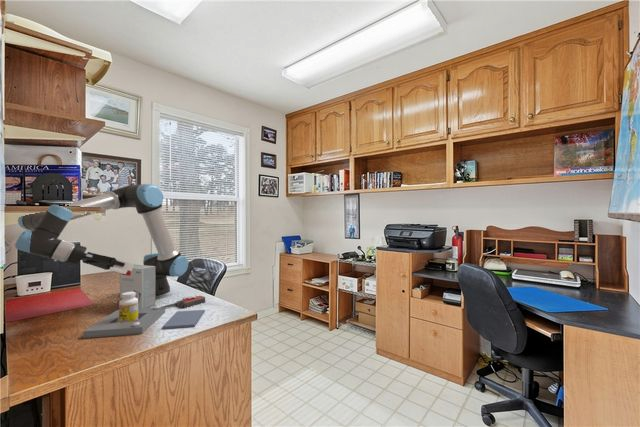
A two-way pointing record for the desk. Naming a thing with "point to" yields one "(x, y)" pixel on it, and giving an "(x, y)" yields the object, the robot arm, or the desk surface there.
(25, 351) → the desk surface
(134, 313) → the supplement bottle
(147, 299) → the hard drive box
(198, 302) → the walkie-talkie
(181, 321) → the mat
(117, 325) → the frame
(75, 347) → the desk surface
